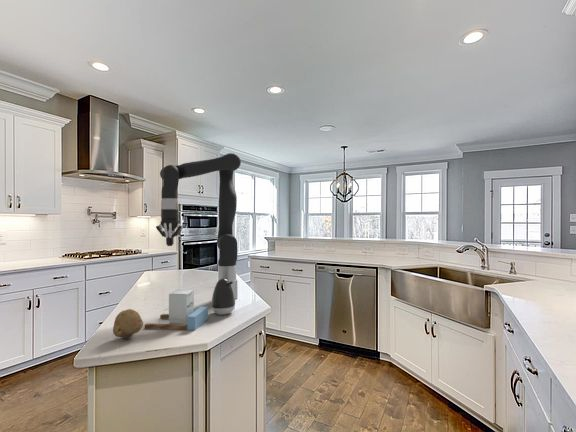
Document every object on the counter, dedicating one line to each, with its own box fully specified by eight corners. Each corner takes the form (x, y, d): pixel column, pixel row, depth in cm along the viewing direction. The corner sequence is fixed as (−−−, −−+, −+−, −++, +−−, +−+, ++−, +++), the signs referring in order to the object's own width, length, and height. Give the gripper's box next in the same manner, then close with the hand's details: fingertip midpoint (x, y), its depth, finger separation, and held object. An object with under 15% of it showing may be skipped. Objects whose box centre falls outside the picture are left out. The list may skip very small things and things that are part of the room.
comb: (144, 328, 115) (144, 324, 115) (162, 317, 128) (162, 313, 128) (187, 329, 114) (187, 325, 114) (201, 318, 127) (201, 314, 127)
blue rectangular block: (187, 329, 114) (187, 316, 114) (201, 318, 127) (200, 306, 127) (195, 330, 113) (195, 316, 113) (208, 318, 126) (207, 306, 126)
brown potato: (147, 333, 110) (147, 306, 110) (134, 343, 101) (134, 313, 102) (123, 333, 111) (123, 306, 111) (107, 343, 102) (107, 313, 102)
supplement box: (186, 326, 117) (186, 293, 117) (168, 326, 118) (168, 293, 118) (194, 320, 124) (194, 289, 124) (177, 320, 125) (177, 289, 125)
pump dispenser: (224, 318, 126) (223, 281, 126) (206, 314, 132) (206, 279, 132) (240, 312, 135) (240, 277, 135) (223, 308, 140) (222, 275, 141)
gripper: (151, 208, 139) (152, 246, 139) (179, 208, 137) (179, 246, 137) (160, 209, 146) (160, 245, 146) (186, 208, 145) (187, 245, 145)
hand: (169, 245), depth 142 cm, fingers closed
